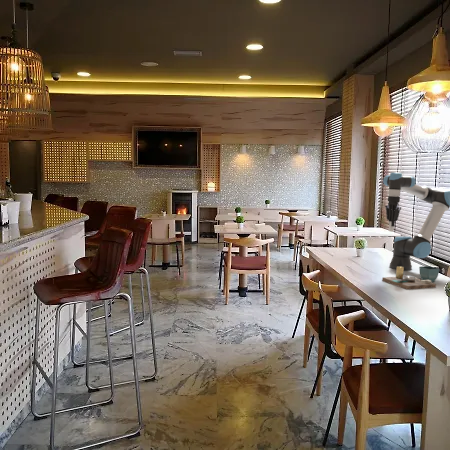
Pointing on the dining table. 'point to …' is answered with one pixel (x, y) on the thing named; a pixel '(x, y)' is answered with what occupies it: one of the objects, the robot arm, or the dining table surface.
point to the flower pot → (428, 273)
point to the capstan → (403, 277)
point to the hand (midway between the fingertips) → (391, 231)
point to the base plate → (410, 283)
